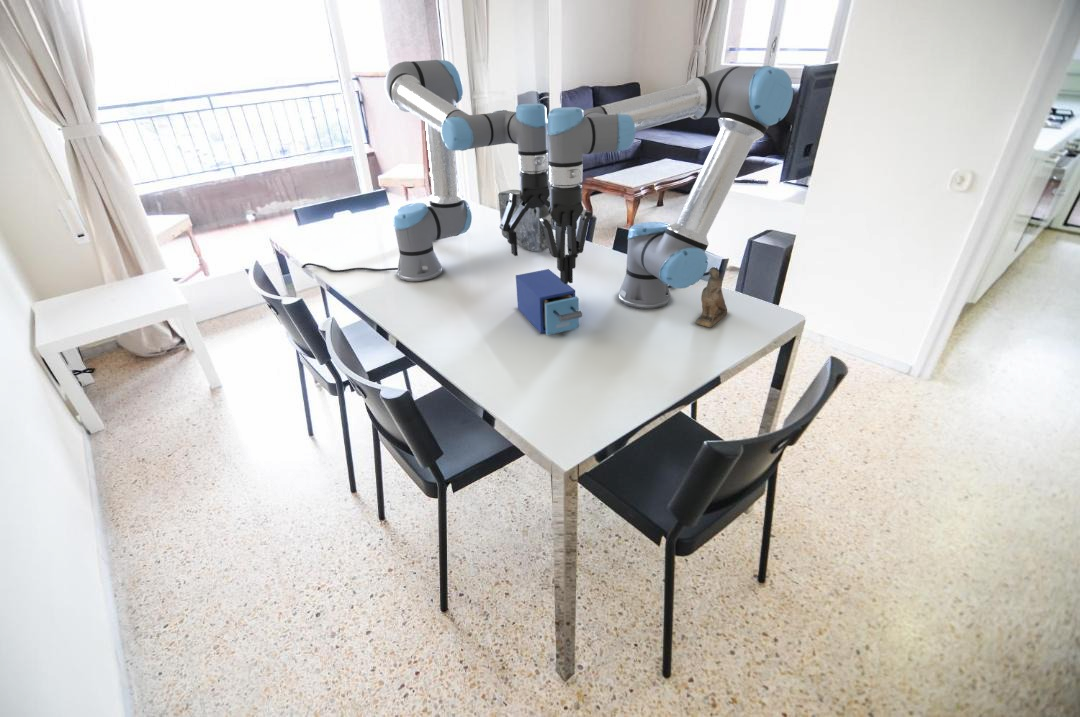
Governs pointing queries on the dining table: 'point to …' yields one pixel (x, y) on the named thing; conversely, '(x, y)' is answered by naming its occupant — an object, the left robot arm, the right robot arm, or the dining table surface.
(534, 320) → the cabinet
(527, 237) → the concrete block
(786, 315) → the dining table surface
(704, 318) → the worn brown figurine
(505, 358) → the dining table surface
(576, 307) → the drawer
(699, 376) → the dining table surface
